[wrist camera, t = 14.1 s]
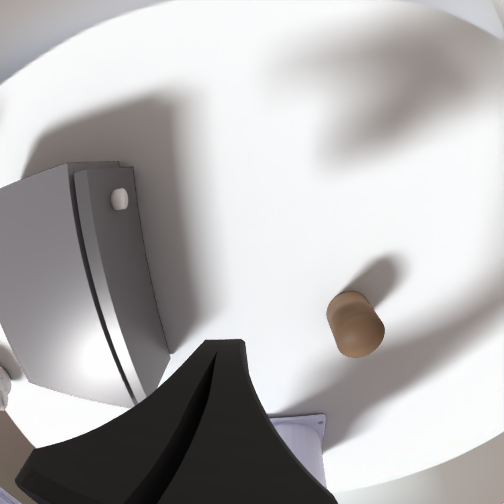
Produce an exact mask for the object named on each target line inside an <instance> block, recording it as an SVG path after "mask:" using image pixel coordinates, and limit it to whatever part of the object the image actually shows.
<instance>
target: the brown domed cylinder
mask: <svg viewBox="0 0 504 504" xmlns="http://www.w3.org/2000/svg"><path fill="white" fill-rule="evenodd" d="M327 319H328V322H329V325H330V328H331V330H332V333H333V336H334V338H335V341H336V344H337V347H338V349H339V351H340V352H341V353H342V354H343V355H345V356H347V357H352V358H358V357H363V356H365V355H368V354H370V353H371V352H373V351H374V350H375V349H376V348H377V347H378V346H379V345H380V344H381V342H382V340H383V338H384V334H385V328H384V325H383V323H382V321H381V320H380V318H379V317H378V315H377V314H376V313H375V311H374V310H373V308H372V307H371V305H370V304H369V302H368V301H367V300H366V298H365V297H364V296H363V295H362V294H360V293H358V292H355V291H348V292H344V293H341V294H339V295H338V296H336V297H335V298H334V299H333V300H332V301H331V302H330V304H329V306H328V308H327Z"/></svg>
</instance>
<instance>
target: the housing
mask: <svg viewBox="0 0 504 504" xmlns="http://www.w3.org/2000/svg"><path fill="white" fill-rule="evenodd" d="M117 167H119V161H112V162H75V163H65V164H62V165H59V166H56V167H53V168H51V169H48V170H45V171H42V172H40V173H37V174H34V175H32V176H29V177H27V178H24V179H22V180H19V181H17V182H14V183H12V184H10V185H7V186H5V187H3V188H0V323H1V326H2V328H3V330H4V333H5V335H6V337H7V340H8V342H9V344H10V346H11V348H12V351H13V353H14V355H15V357H16V359H17V361H18V363H19V365H20V366H21V368H22V370H23V372H24V374H25V376H26V378H27V379H28V381H29V382H30V383H32V384H35V385H38V386H41V387H44V388H47V389H51V390H54V391H57V392H61V393H64V394H68V395H71V396H75V397H79V398H83V399H87V400H91V401H96V402H100V403H105V404H110V405H115V406H120V407H126V408H133V407H134V406H135V405H137V404H138V402H137V400H136V398H135V395H134V393H133V391H132V389H131V387H130V384H129V382H128V380H127V377H126V375H125V373H124V370H123V368H122V366H121V363H120V361H119V358H118V355H117V353H116V350H115V348H114V345H113V342H112V339H111V337H110V334H109V331H108V328H107V325H106V322H105V319H104V316H103V313H102V310H101V306H100V303H99V300H98V296H97V293H96V289H95V285H94V282H93V278H92V274H91V270H90V266H89V262H88V257H87V253H86V248H85V244H84V239H83V233H82V228H81V222H80V217H79V210H78V204H77V197H76V189H75V180H74V173H75V172H79V171H82V170H86V169H98V168H117Z"/></svg>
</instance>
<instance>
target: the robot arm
mask: <svg viewBox="0 0 504 504" xmlns="http://www.w3.org/2000/svg"><path fill="white" fill-rule="evenodd" d="M325 423H326V416H325V415H324V414H317V415H308V416H297V417H284V418H269V417H268V416H267V414H266V412H265V410H264V408H263V406H262V404H261V402H260V400H259V398H258V396H257V394H256V391H255V389H254V386H253V384H252V381H251V378H250V375H249V370H248V363H247V355H246V346H245V342H244V341H243V340H242V339H226V340H205V341H204V342H203V343H202V344H201V345H200V346H199V347H198V348H197V349H196V350H195V351H194V353H193V354H192V355H191V356H190V357H189V358H188V359H187V360H186V361H185V362H184V363H183V364H182V365H181V366H180V367H179V368H178V369H177V370H176V371H175V372H174V373H173V374H172V375H171V376H170V377H169V378H168V379H167V380H166V381H165V382H164V383H163V384H162V385H161V386H160V387H158V388H157V389H156V390H155V391H154V392H153V393H151V394H150V395H149V396H148V397H146V398H145V399H144V400H143V401H141V402H140V403H138V404H137V405H135V406H134V407H133V408H131V409H130V410H128V411H127V412H125V413H124V414H122V415H120V416H118V417H117V418H115V419H113V420H111V421H109V422H108V423H106V424H104V425H102V426H100V427H98V428H96V429H94V430H92V431H90V432H87V433H85V434H83V435H80V436H78V437H75V438H72V439H70V440H67V441H64V442H60V443H57V444H53V445H49V446H45V447H42V448H37V449H34V450H33V451H32V453H31V454H30V456H29V457H28V459H27V461H26V462H25V464H24V466H23V467H22V469H21V470H20V472H19V473H18V475H17V477H16V478H15V482H16V484H17V486H18V487H19V488H20V489H21V490H22V491H23V492H25V493H26V494H27V495H28V496H29V497H30V498H32V499H33V500H34V501H35V502H37V503H38V504H338V502H337V501H336V499H335V497H334V496H333V495H332V494H331V493H330V492H329V491H328V490H327V487H326V479H325V472H324V465H323V458H322V452H321V447H322V442H323V436H324V429H325ZM0 504H21V503H20V502H19V501H17V500H16V499H15V498H13V497H12V496H11V495H9V494H8V493H7V492H6V491H4V490H3V489H2V488H1V487H0ZM503 504H504V503H503Z"/></svg>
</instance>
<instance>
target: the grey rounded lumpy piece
mask: <svg viewBox="0 0 504 504" xmlns="http://www.w3.org/2000/svg"><path fill="white" fill-rule="evenodd" d="M10 390H11V380H10V377H9V375H8V373H7V372H6V371H5V370H4V369H3V368H2V367H0V410H3V411H5V407H6V406H7V405H8V404H7V402H8V396H7V395H8V394H9V392H10Z"/></svg>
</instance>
